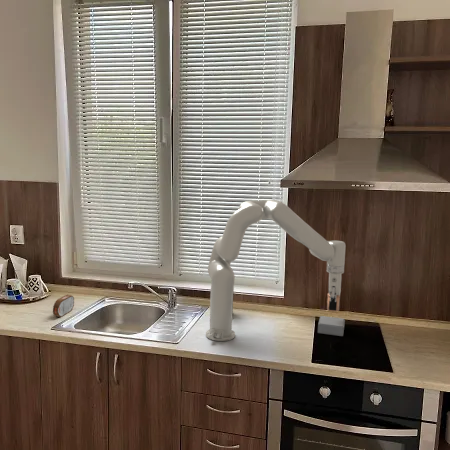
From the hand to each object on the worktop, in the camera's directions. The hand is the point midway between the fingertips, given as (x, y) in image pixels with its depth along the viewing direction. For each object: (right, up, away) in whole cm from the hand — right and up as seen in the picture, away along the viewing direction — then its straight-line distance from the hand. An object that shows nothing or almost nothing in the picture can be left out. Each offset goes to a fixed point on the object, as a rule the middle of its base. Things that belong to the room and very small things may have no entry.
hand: (332, 307), depth 203 cm
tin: (-125, -5, +12) cm, 126 cm away
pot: (0, -1, 0) cm, 1 cm away
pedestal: (0, -10, +2) cm, 11 cm away
